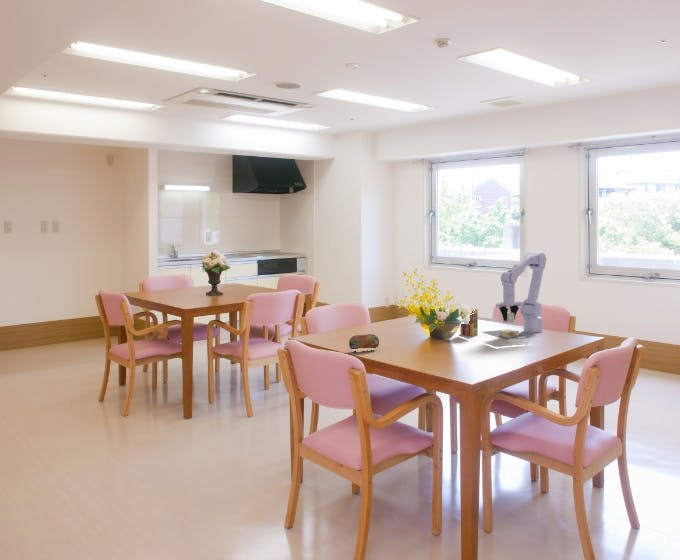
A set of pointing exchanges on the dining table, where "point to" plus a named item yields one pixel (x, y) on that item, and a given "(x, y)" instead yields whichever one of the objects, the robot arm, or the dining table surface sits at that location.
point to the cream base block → (509, 333)
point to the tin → (364, 341)
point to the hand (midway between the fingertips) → (509, 320)
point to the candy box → (470, 325)
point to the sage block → (509, 317)
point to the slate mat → (497, 334)
